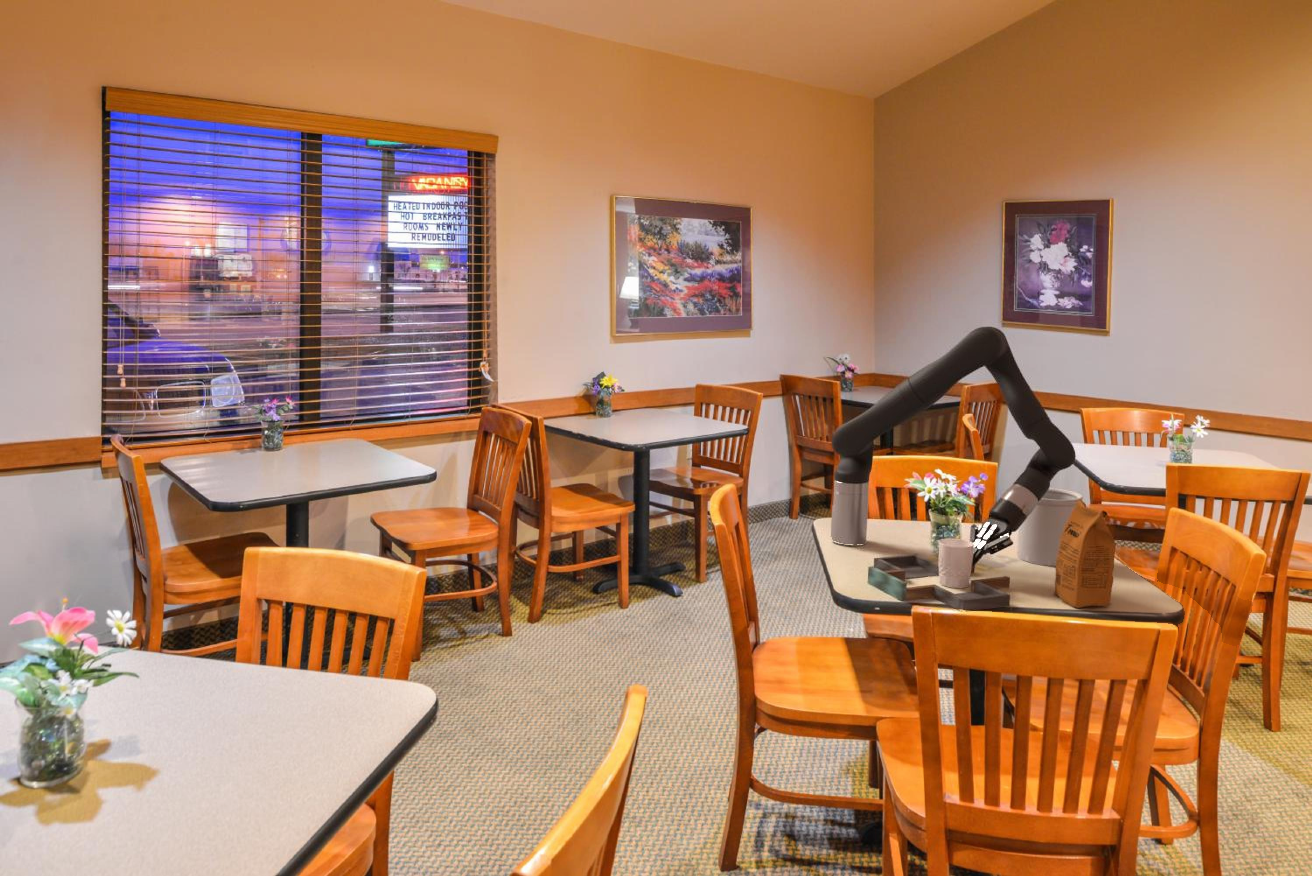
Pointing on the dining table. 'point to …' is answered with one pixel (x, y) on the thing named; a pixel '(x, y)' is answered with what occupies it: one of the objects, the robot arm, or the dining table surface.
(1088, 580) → the coffee package
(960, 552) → the white cup
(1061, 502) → the utensil holder
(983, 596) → the grey compartment tray
